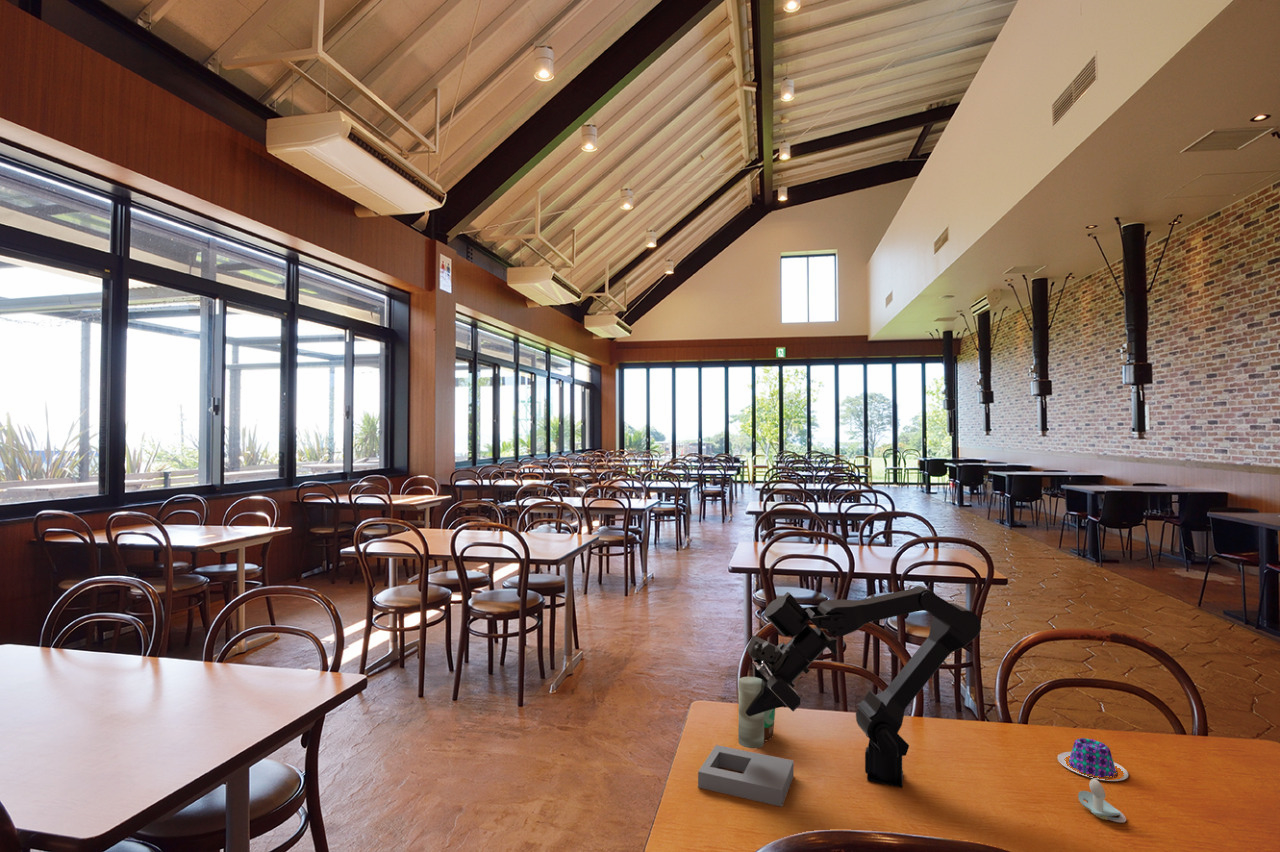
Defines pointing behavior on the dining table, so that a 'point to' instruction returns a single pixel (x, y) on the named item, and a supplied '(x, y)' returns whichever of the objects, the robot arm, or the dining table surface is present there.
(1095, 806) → the pacifier
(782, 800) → the pocket board
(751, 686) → the peg
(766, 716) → the food container
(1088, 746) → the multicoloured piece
